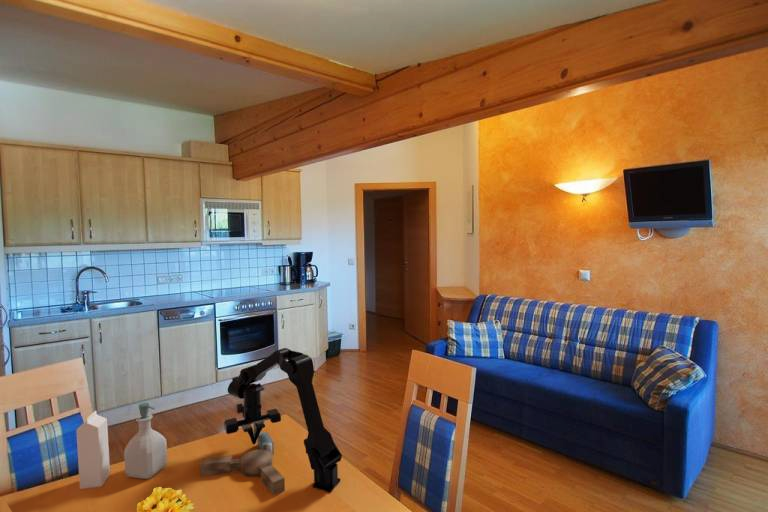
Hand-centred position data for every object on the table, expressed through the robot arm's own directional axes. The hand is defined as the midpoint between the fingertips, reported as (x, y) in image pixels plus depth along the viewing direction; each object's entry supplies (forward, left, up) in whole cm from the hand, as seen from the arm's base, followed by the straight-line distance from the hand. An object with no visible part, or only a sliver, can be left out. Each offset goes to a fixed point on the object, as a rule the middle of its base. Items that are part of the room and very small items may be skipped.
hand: (253, 443), depth 146 cm
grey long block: (-4, -1, -2) cm, 5 cm away
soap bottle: (+24, +23, -3) cm, 34 cm away
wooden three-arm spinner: (-8, +11, -2) cm, 14 cm away
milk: (+34, +33, -3) cm, 48 cm away
